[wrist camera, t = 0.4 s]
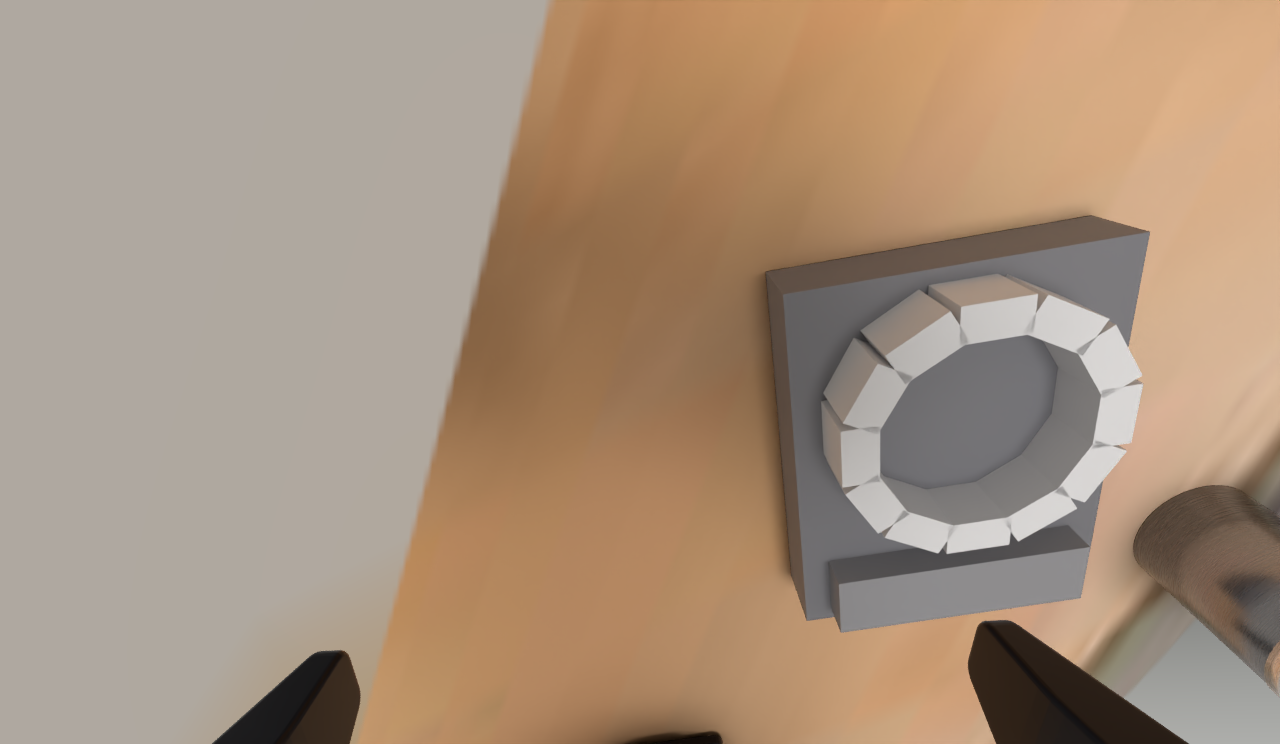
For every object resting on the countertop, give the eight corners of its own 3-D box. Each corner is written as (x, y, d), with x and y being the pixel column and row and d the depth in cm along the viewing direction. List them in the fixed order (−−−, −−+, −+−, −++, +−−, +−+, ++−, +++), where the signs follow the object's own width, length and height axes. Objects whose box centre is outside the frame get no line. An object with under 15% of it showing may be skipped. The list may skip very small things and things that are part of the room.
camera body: (1044, 538, 26) (1121, 620, 22) (791, 575, 27) (821, 663, 23) (1091, 215, 21) (1208, 248, 16) (765, 271, 21) (800, 317, 17)
